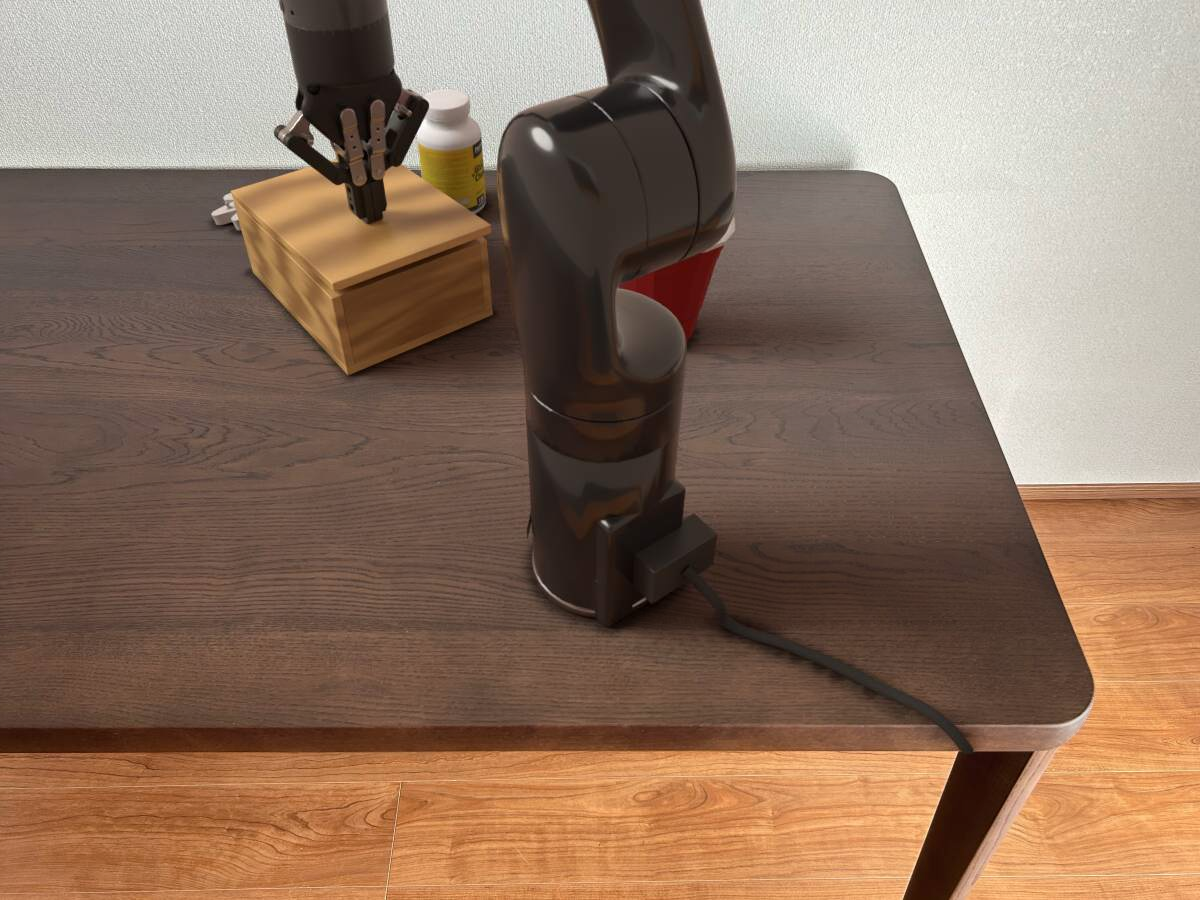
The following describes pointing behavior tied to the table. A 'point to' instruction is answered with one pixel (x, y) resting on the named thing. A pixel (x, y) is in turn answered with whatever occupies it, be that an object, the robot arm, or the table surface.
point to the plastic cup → (682, 284)
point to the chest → (375, 298)
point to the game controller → (227, 213)
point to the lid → (358, 223)
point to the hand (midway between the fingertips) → (370, 217)
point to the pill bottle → (452, 149)
